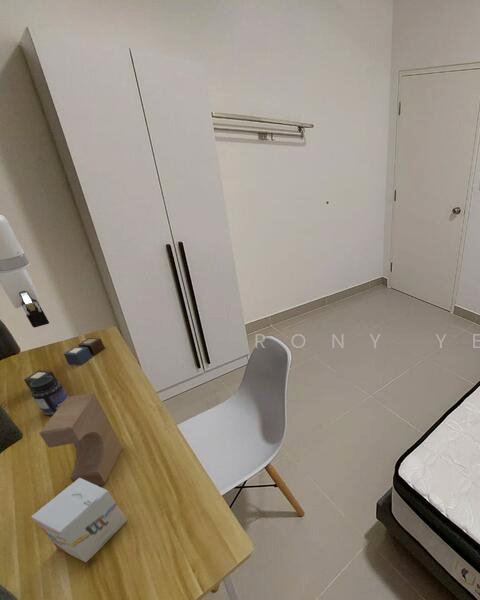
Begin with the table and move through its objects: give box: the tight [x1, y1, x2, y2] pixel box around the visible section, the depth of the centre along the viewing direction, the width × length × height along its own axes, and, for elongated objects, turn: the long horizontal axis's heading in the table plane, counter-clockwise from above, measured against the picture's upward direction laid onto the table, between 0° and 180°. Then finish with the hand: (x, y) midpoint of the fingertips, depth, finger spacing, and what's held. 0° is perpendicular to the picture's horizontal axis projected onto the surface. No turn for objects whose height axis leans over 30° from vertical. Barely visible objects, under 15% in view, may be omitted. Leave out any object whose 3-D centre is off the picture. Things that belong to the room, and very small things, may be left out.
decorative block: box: [38, 392, 123, 487], centre depth 78 cm, size 11×6×20 cm, turn 16°
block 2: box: [63, 346, 93, 366], centre depth 116 cm, size 4×4×5 cm
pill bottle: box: [30, 376, 70, 417], centre depth 95 cm, size 6×6×11 cm
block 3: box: [77, 337, 106, 356], centre depth 121 cm, size 4×4×5 cm
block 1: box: [23, 369, 59, 392], centre depth 104 cm, size 4×4×5 cm
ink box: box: [31, 478, 128, 563], centre depth 67 cm, size 9×9×12 cm
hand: (38, 318), depth 92 cm, fingers open, 9 cm apart
